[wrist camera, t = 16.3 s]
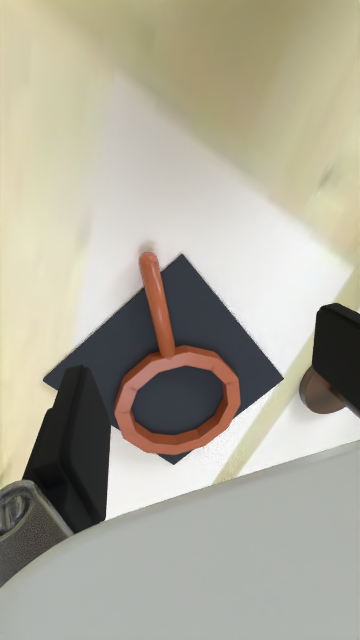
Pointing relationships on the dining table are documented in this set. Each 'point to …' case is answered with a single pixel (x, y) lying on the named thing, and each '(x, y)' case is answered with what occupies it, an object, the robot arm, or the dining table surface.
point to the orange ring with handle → (166, 361)
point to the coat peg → (322, 395)
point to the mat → (182, 382)
